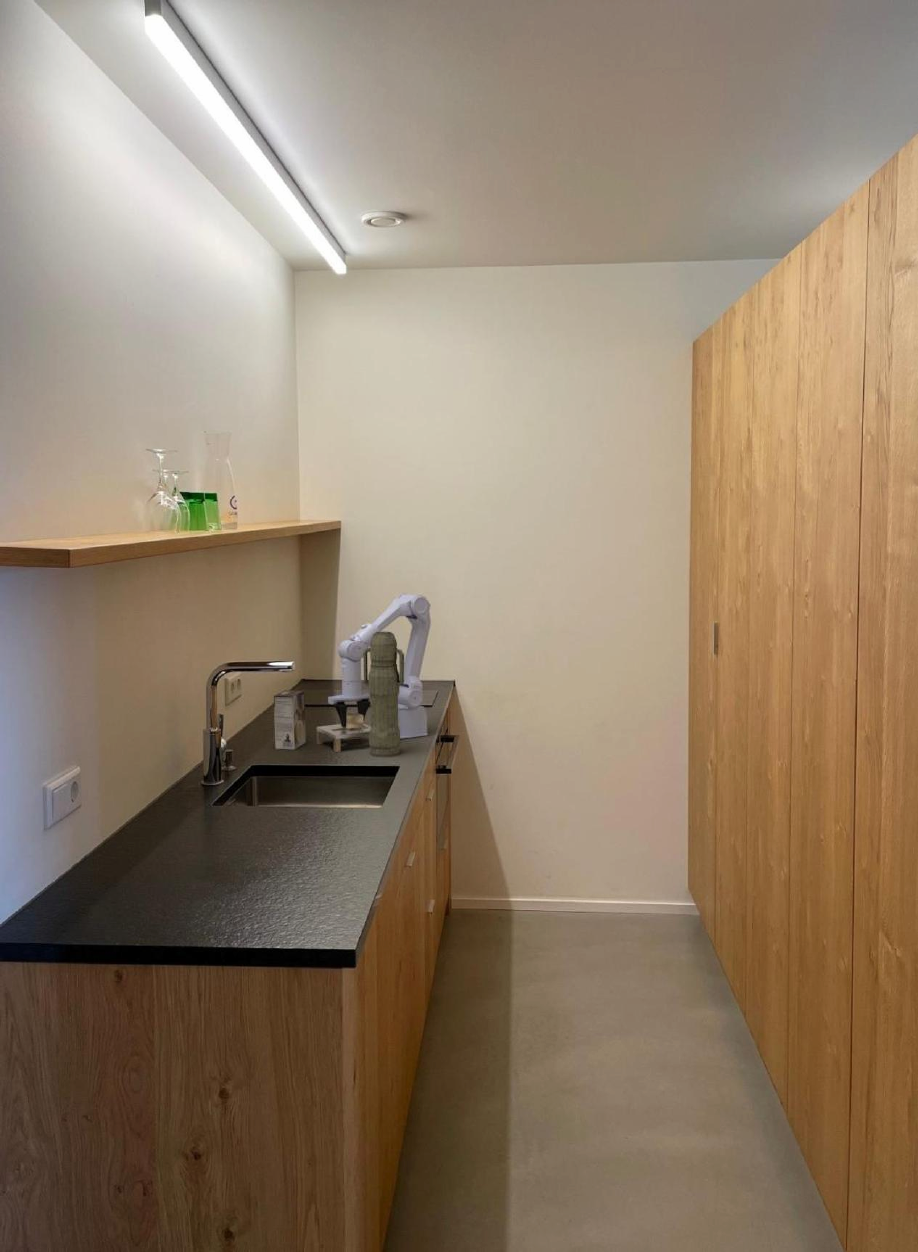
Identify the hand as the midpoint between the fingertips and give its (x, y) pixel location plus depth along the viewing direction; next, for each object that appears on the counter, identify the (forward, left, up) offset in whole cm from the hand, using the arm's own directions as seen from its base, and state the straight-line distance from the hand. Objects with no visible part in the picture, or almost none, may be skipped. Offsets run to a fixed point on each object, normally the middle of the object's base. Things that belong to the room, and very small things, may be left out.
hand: (352, 725), depth 288 cm
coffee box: (+16, -8, -6) cm, 19 cm away
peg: (0, 0, -3) cm, 3 cm away
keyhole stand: (+1, 0, -6) cm, 6 cm away
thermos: (-3, +15, -6) cm, 17 cm away
